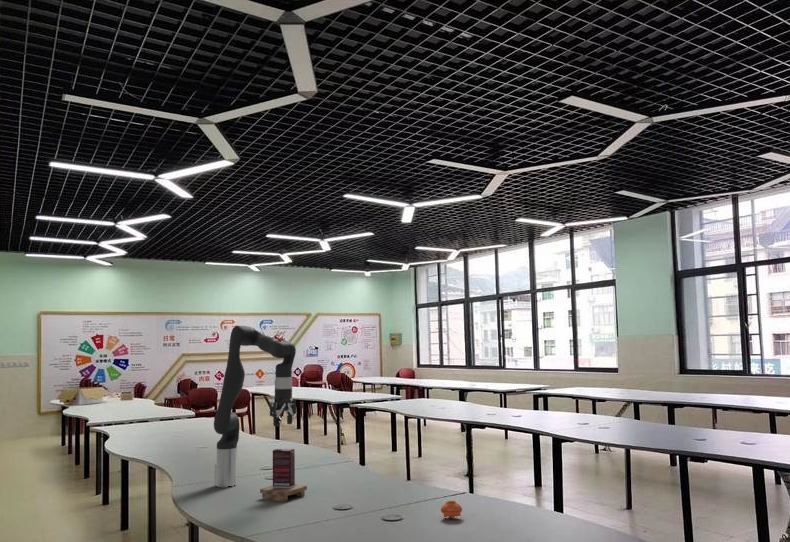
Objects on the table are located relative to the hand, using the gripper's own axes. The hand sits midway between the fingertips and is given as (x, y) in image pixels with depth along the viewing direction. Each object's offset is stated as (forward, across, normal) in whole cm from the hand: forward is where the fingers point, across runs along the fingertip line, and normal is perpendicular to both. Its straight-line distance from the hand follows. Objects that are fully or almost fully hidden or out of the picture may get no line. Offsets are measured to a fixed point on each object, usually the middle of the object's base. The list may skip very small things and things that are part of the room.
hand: (283, 425), depth 272 cm
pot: (+30, +3, -80) cm, 86 cm away
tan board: (+30, -1, -1) cm, 30 cm away
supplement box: (+26, 0, -1) cm, 26 cm away
